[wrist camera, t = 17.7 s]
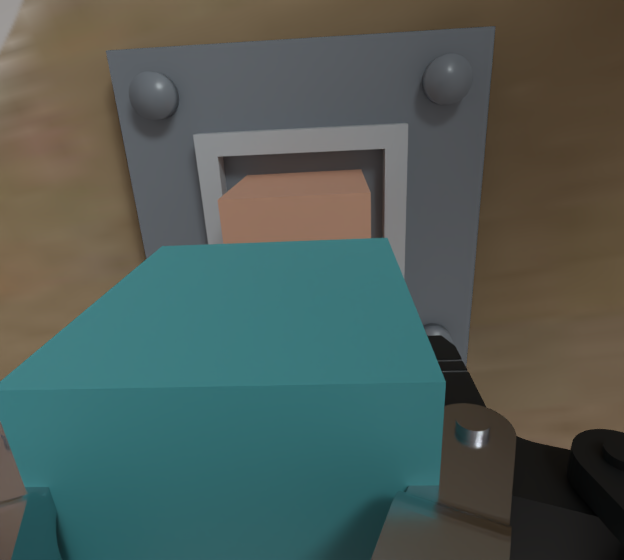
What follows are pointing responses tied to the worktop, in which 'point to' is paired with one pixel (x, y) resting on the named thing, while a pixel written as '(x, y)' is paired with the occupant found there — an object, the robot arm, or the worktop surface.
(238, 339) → the teal block
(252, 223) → the terracotta block
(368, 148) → the plate
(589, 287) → the worktop surface
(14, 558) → the robot arm
